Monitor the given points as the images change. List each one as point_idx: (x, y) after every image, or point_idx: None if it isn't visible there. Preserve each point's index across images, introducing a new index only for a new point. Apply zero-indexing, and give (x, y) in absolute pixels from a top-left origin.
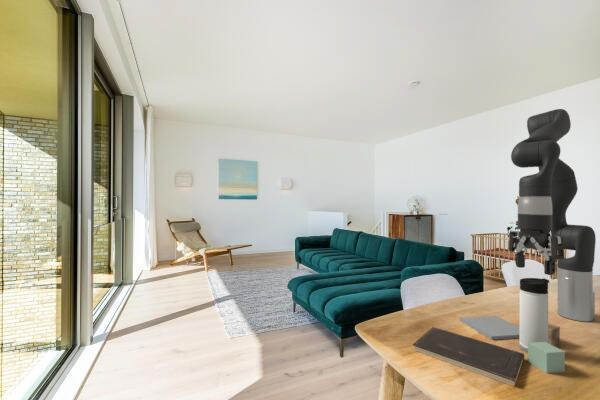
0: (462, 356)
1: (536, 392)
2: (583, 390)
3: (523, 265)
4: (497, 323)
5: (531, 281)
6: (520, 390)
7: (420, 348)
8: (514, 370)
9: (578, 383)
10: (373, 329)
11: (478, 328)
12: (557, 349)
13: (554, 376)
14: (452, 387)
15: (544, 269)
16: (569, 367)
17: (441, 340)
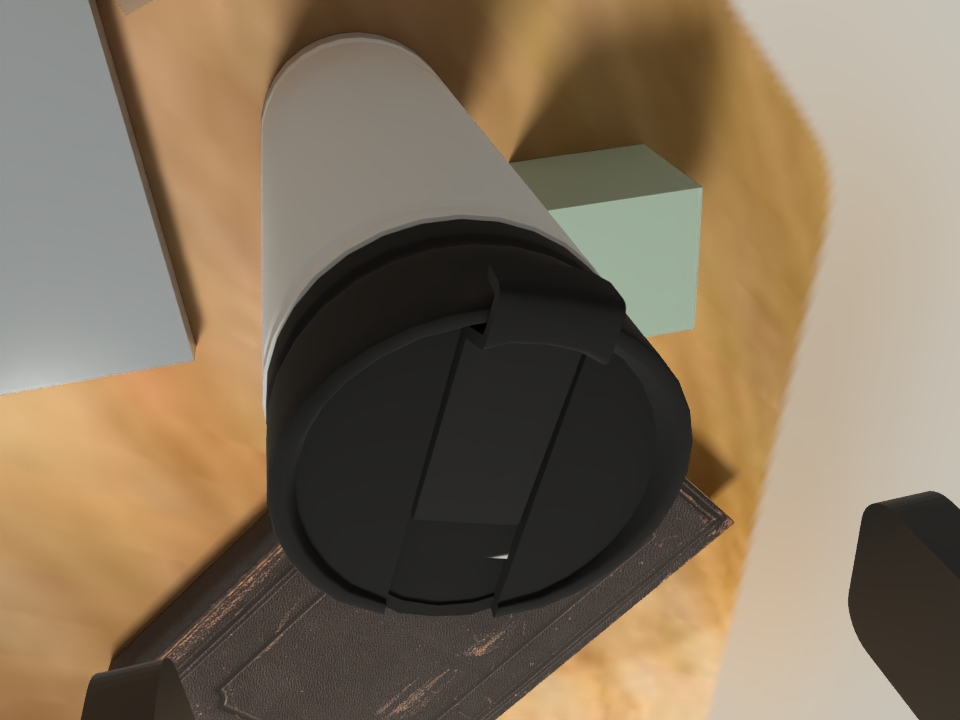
0: (518, 652)
1: (764, 434)
2: (804, 199)
3: (169, 714)
4: None
5: (439, 482)
6: (738, 489)
7: None
8: None
9: (753, 169)
10: None
11: (32, 387)
12: (667, 215)
13: None
14: (672, 704)
15: (905, 700)
16: (603, 58)
17: (332, 696)
